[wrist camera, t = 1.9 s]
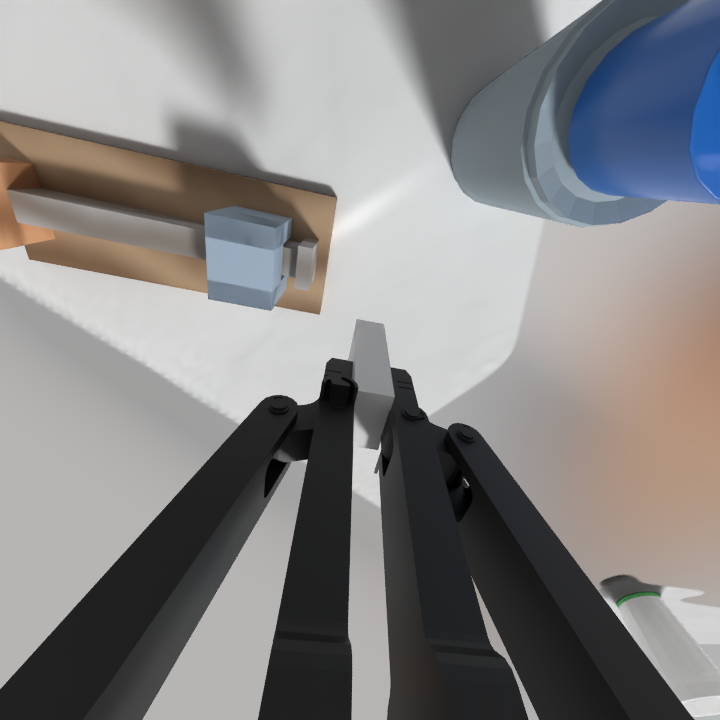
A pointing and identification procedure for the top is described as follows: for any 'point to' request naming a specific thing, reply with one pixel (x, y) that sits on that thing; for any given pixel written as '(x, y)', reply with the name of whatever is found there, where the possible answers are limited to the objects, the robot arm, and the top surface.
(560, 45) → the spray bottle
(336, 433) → the robot arm
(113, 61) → the top surface
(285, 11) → the top surface
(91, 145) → the rail board
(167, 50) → the top surface
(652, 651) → the cup
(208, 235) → the slider
